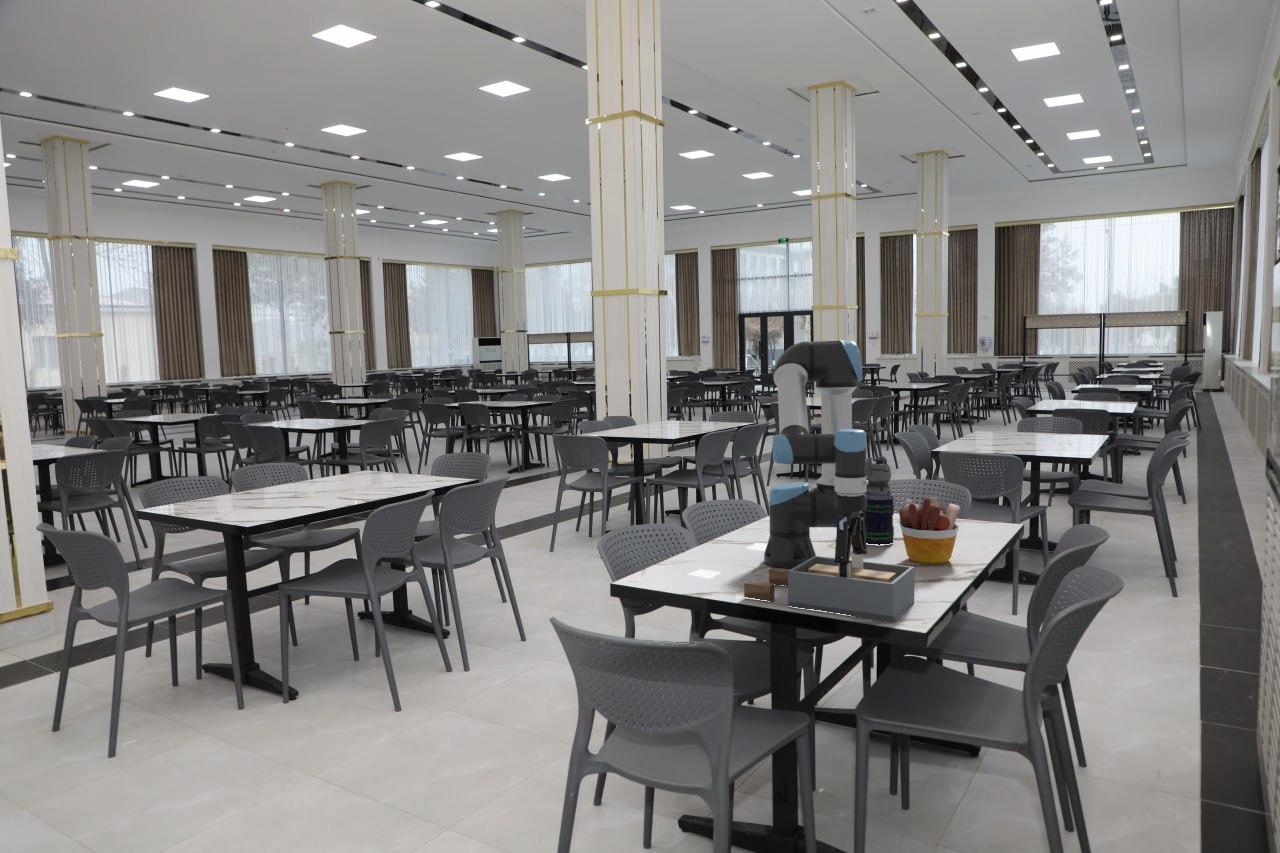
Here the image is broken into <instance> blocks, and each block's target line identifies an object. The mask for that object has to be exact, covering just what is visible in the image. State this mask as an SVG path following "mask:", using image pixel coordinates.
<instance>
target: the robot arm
mask: <svg viewBox="0 0 1280 853" xmlns="http://www.w3.org/2000/svg"><path fill="white" fill-rule="evenodd" d="M859 349H860V348H859V347H858V344H857V343H856V342H855V341H853V340H842V339H840V340H821V341H800V342H796V343H795V344H793V345H791V346H790V347H788V348H786V350H785V351H783V353H781V355H780V356H779V357H778V359H777V360H776V363H775V365H774V369H773V376H772V377H773V382H774V384H775V386H776V387H777V403H778V406H777V407H778V424H779V425H778V426H779V434H774V435H773V436H772V460H773V462H774V463H775V464H779V465H780V464H781V465H782V464H783V465H808V464H809V465H811V464H812V465H813V464H817V465H819V464H820V465H821V476H820V477H819V478H818V479H817V480H816V487H811V485H810V483H808V482H805V481H803V482H802V481H796V482H795V481H794V482H787V483H782V484H779V485H776V486H774V487H771V489H770V490H769V496H768V498H769V499H768V506H769V537H768V540H767V544H766V547H765V551H764V554H763V562H765V563H766V564H765V565H767V566H770V567H774V568H780V567H784V568H783V569H793V568H794V567H796V566H798V565H800V564H801V563H803V562H805V561H807V560H808V559H810V558H812V557H814V556H817V554H816V551H815V548H814V545H813V542H812V539H811V534H810V528H836V536H835V548H834V549H835V551H834V558H835V560H834V562H835V563H838V571H839V577H846V578H851V569H850V563H849V560H850V556H851V560H852V568H857V569H863V561H864V555H867V554H868V550H867V545H866V535H865V522H864V519H865V513H864V512H862V511H864V510H866V508H867V496H866V494H864V493H865V492H866V491H867V488H866V485H868V483H869V482H868V481H866V476H867V475H866V462H867V447H868V442H867V432H866V431H865V430H863V429H858V428H853V412H852V410H853V409H852V408H853V404H852V400H853V399H852V397H853V396H852V394H853V392H854V391H855V390H856V389H857V388H858V382H861V381H862V380H863V365H862V364H863V363H862V359H861V353H860V350H859ZM807 383H815V389H816V390H817V392H819V393H820V395H821V397H820V403H821V407H820V408H821V410H820V411H821V412H820V415H821V418H820V419H821V433H810V432H809V430H810V429H809V419H808V417H809V416H808V406H807V393H806V384H807ZM851 550H852V553H851ZM785 567H787V568H785Z"/></svg>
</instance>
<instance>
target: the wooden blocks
mask: <svg viewBox="0 0 1280 853" xmlns="http://www.w3.org/2000/svg"><path fill="white" fill-rule="evenodd" d="M789 570H791V568H780V567H774V566H772V567H771V568H769V569H768V582H764V581H763V582H762V581H758V580H757V581H755V580H747V581H746V582H744V583H743V598H744V597H748V598H755V599H760V600H767V601H771V600H773V599H774V598H775V592H776V591H775V586H776V585H784V586H785V585H786V586H788V571H789ZM774 584H775V585H774ZM775 599H776V598H775ZM773 601H774V600H773ZM771 602H772V601H771Z"/></svg>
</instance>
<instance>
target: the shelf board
mask: <svg viewBox="0 0 1280 853" xmlns="http://www.w3.org/2000/svg"><path fill="white" fill-rule="evenodd" d="M850 569H851V578H855V579H863V580H871V581H879V582H888V583H891V582H892V581H894V580H895V579H896V573H892V572H883V571H875V570H866V569H857V568H850ZM808 573H814V574H822V575H830V576H838V577H839V571H838V566H831V565H823V564H816V565H814V566H812V567H811V568H809V569H808Z"/></svg>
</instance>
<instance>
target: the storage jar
mask: <svg viewBox="0 0 1280 853" xmlns="http://www.w3.org/2000/svg"><path fill="white" fill-rule="evenodd" d="M866 496H867V508H866V510H864V511H862V512H864V513H865V519H864V522H865V535H866V543H868V544H878V545H880V544H890V543H893V542H894V537H895V532H894V531H895V527H894V518H893V517H894V513H895V512H894V508H895V504H894V496H892V495H891V496H889V495H866Z"/></svg>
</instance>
